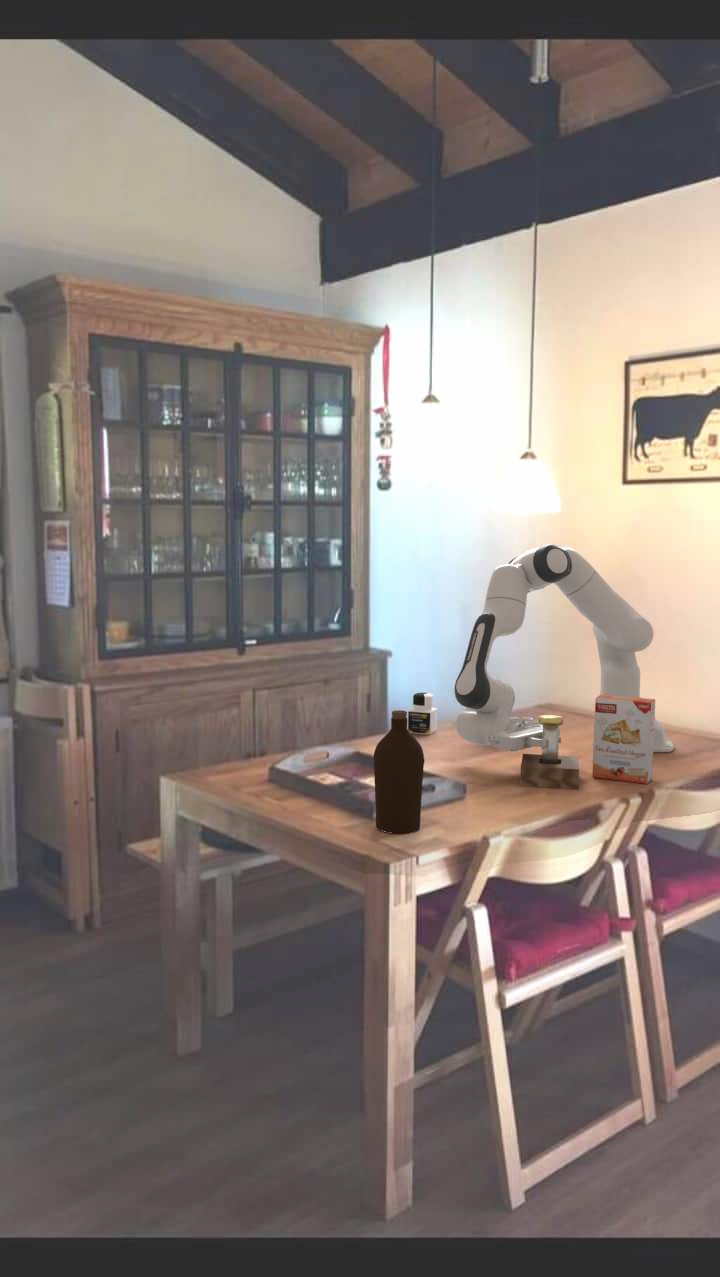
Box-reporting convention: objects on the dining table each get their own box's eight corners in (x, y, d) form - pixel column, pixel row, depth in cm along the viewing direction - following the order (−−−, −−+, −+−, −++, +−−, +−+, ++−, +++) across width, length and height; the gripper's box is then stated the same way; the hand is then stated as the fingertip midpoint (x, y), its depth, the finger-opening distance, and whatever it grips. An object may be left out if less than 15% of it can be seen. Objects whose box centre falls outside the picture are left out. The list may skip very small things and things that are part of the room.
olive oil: (396, 838, 213) (398, 718, 210) (362, 826, 221) (363, 710, 218) (433, 828, 220) (435, 712, 217) (398, 817, 228) (400, 705, 225)
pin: (561, 773, 263) (563, 715, 261) (561, 779, 257) (563, 720, 255) (537, 772, 264) (539, 714, 262) (536, 778, 258) (538, 719, 257)
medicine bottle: (407, 733, 317) (408, 694, 315) (415, 728, 323) (415, 690, 322) (429, 735, 314) (430, 696, 313) (437, 730, 321) (437, 692, 319)
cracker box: (591, 778, 264) (594, 696, 261) (597, 773, 269) (600, 693, 267) (647, 785, 257) (651, 701, 255) (652, 779, 263) (655, 698, 260)
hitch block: (577, 775, 266) (578, 756, 266) (578, 789, 253) (579, 769, 252) (522, 772, 269) (522, 753, 268) (520, 786, 255) (520, 766, 255)
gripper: (483, 727, 261) (528, 735, 251) (533, 716, 275) (577, 724, 266) (483, 751, 262) (527, 761, 252) (532, 739, 276) (576, 748, 266)
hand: (553, 742), depth 259 cm, fingers closed on pin, 4 cm apart
